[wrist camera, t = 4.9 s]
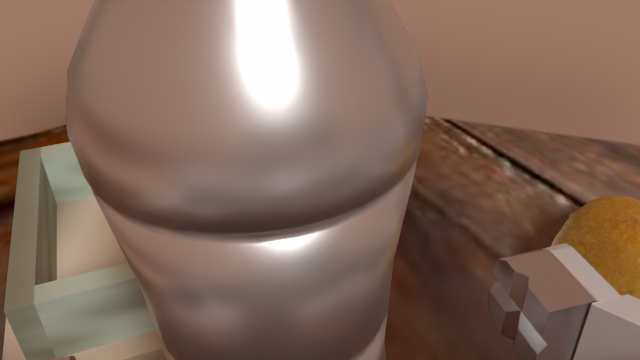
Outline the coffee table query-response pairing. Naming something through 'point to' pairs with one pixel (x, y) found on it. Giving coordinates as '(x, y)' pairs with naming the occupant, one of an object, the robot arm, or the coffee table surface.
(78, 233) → the bottle stand
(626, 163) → the coffee table surface
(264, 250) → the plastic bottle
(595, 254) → the bread roll
